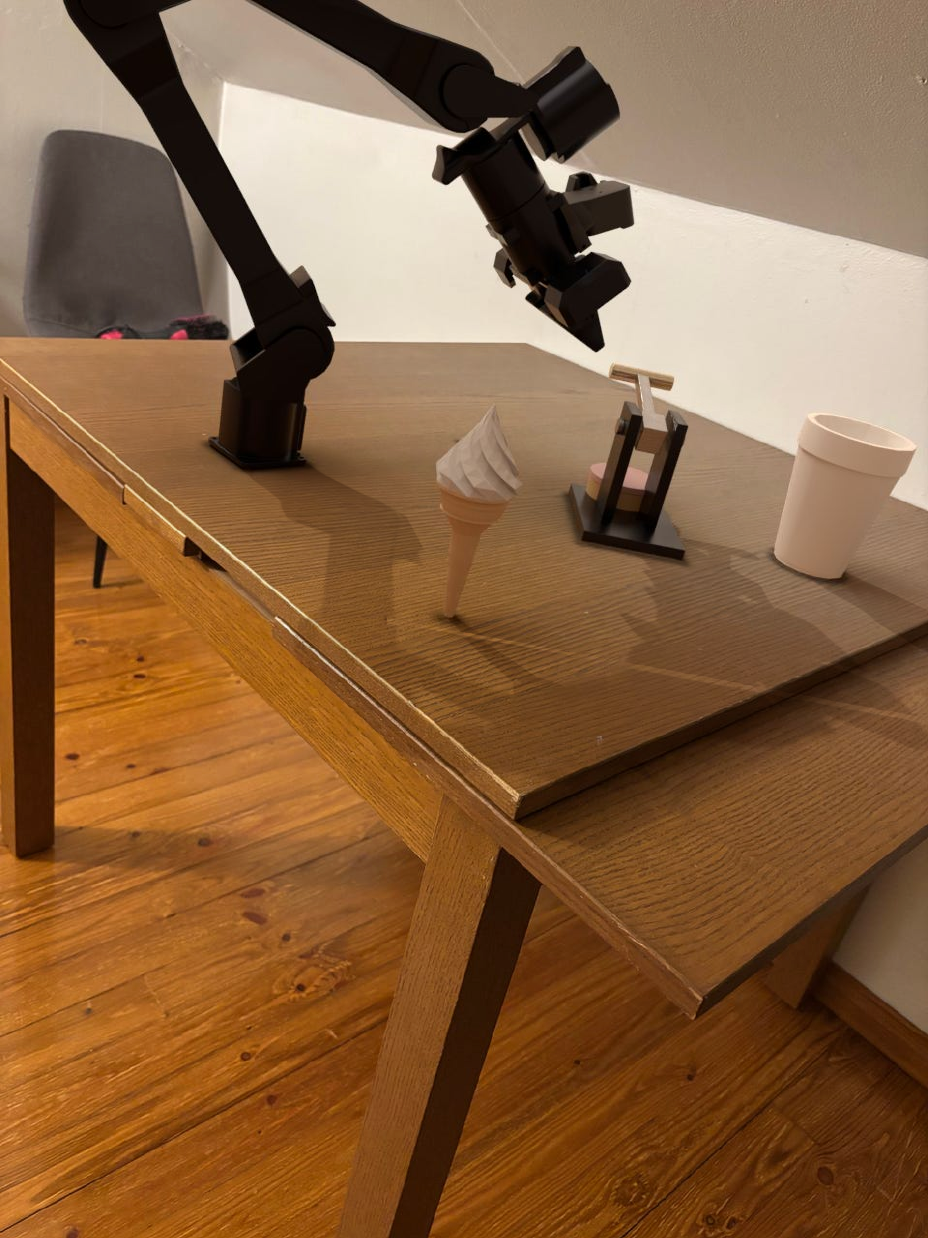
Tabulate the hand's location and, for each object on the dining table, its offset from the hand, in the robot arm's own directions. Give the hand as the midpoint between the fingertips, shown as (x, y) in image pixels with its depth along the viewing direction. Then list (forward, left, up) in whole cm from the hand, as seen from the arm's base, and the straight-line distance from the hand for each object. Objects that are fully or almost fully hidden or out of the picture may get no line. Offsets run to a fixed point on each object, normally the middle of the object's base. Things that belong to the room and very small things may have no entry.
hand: (599, 348), depth 90 cm
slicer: (-2, -9, -14) cm, 17 cm away
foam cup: (+11, -21, -14) cm, 28 cm away
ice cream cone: (-30, -17, -14) cm, 37 cm away
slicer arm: (+1, -6, -5) cm, 7 cm away
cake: (+1, -6, -14) cm, 15 cm away
